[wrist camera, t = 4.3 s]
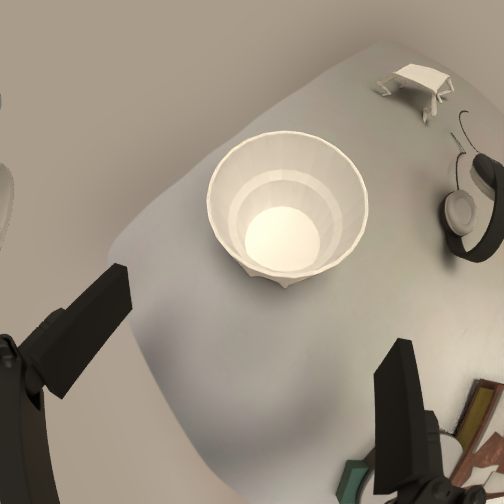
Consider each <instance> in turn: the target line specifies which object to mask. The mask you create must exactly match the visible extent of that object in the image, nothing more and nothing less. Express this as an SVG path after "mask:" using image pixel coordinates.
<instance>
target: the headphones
mask: <svg viewBox="0 0 504 504" xmlns="http://www.w3.org/2000/svg"><path fill="white" fill-rule="evenodd" d="M462 112H468V111H461V112H460V114H459V120H460V115H461V113H462ZM460 124H461V121H460ZM461 127H462V125H461ZM462 129H463V128H462ZM463 132H464V130H463ZM464 134H465V132H464ZM452 135H453V134H452ZM453 136H454V135H453ZM465 136H466V134H465ZM466 137H467V136H466ZM455 139H456V138H455ZM467 139H468V138H467ZM468 141H469V139H468ZM469 142H470V141H469ZM458 143H459V142H458ZM470 144H471V143H470ZM471 145H472V144H471ZM472 146H473V145H472ZM461 147H462V146H461ZM473 148H474V147H473ZM474 149H475V148H474ZM463 150H464V149H463ZM475 150H476V149H475ZM464 151H465V150H464ZM476 151H477V150H476ZM477 152H478V151H477ZM479 153H480V152H479ZM461 154H466V152H465V153H464V152H462V153H460V154H459V155H458V157H457V161H456V180H457V188H458V190H457V191H453V192H451V193H449V194H448V195H447V196H446V197H445V198H444V200H443V202H442V205H441V218H442V222H443V224H444V227H445V234H446V240H447V244H448V246H449V248H450V250H451V252H452V253H453V254H454V255H456V256H458V257H460V258H463V259H466V260H469V261H471V262H475V263H479V262H483V261H485V260H487V259H488V258H490V257H491V256H492V255H493V254H494V253H495V252H496V250H497V249H498V248H499V246H500V244H501V243H502V241H503V239H504V167H503V166H502V164H500V163H499V162H497V161H495V160H493V159H491V158H490V157H488V156H486V155H485V154H481V153H480V154H478V155H476V157H475V158H474V160H473V164H472V168H471V170H470V175H471V178H472V180H473V181H474V183H475V185H476V186H477V187H478V188H479V189H480V190H481V192H483V193H484V194H485V195H486V196H487V197H488V198H489V199H491V200H493V201H494V208H493V213H492V216H491V220H490V223H489V225H488V228H487V230H486V232H485V234H484V235H483V237H482V239H481V240H480V242H479V243H478V244H477V245H476V246H475V247H474V248H473V249H472V250H470V251H468V252H466V251H465V249H464V247H463V244H462V239H461V237H462V236H465V235H467V234H468V233H470V232H471V231H472V230H473V228H474V227H475V225H476V222H477V207H476V205H475V202H474V200H473V198H472V197H471V195H470V194H469V193H467V192H466V191H464V190H459V187H458V178H457V162H458V158H459V156H460V155H461Z"/></svg>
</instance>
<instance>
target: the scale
mask: <svg viewBox="0 0 504 504" xmlns="http://www.w3.org/2000/svg"><path fill="white" fill-rule="evenodd" d="M439 434H440V442H441V449H442V460H443V471H444V476H445V477H447V478H448V479H449V478H450V477H451V475H452V473H453V472H454V470H455V468H456V466H457V464H458V462H459V460H460V458H461V456H462V454H463V449H462V446H461V445H460V443H459V441H458V440H457V439H456V438H455V437H454V436H453V435H451V434H450V433H448V432H446V431H444V430H442V429H440V428H439ZM374 470H375V448H374V449H373V450H372V451H371V452H370V453H369V454H368V455H367V456H366V458H365V459H364V460H363V461H347V464H346V467H345V470H344V473H343V476H342V479H341V482H340V485H339V488H338V491H337V493H336V497H337V499H338V501H339V504H384V503H385V502H387V501H388V500H391V499H393V498H395V497H397V491H396V492H394V493H392V494H390V495H373V488H374ZM389 504H390V503H389Z"/></svg>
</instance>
